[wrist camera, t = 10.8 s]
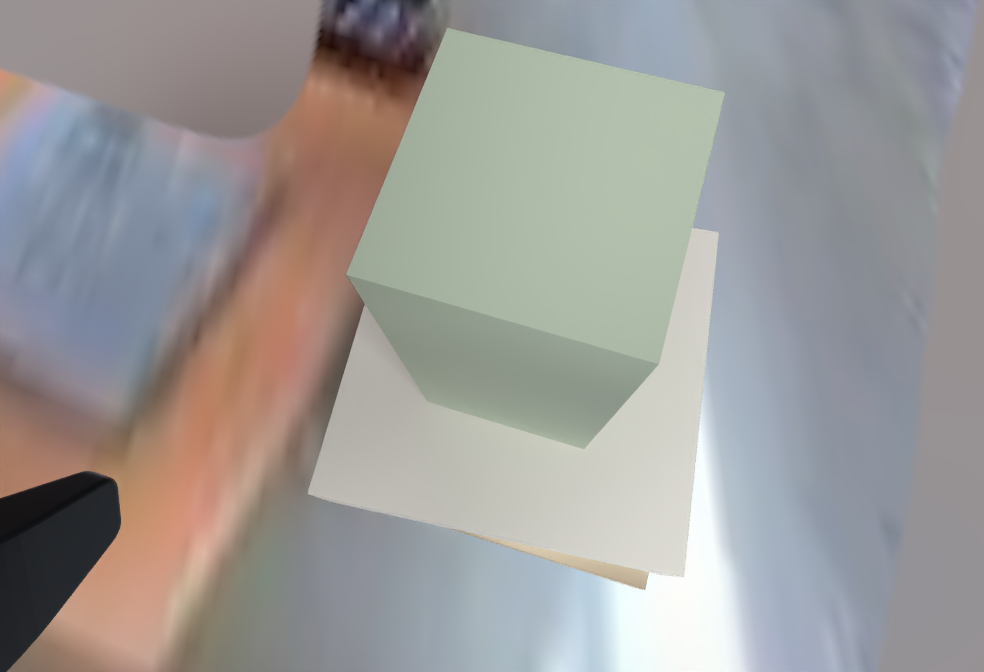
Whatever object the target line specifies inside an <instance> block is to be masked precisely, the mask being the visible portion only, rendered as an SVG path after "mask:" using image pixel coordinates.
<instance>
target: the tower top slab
mask: <svg viewBox="0 0 984 672" xmlns="http://www.w3.org/2000/svg"><path fill="white" fill-rule="evenodd" d="M718 236H719V232H714V231H708V230H702V229H696V228H692V231H691V235H690V239H689V243H688V247H687V251H686V255H685V259H684V264H683V268H682V272H681V276H680V280H679V284H678V288H677V292H676V297H675V301H674V305H673V309H672V313H671V317H670V321H669V325H668V329H667V334H666V338H665V342H664V346H663V350H662V354H661V358H660V362H659V365H658V366H657V367H656V368H655V369H654V371H653V372H652V373H651V374H650V375H649V376H648V377H647V379H646V380H645V381H644V382H643V383H642V384H641V385H640V386H639V388H638V389H637V390H636V391H635V392H634V393H633V394H632V396H631V397H630V398H629V399H628V400H627V401H626V402H625V404H624V405H623V406H622V407H621V408H620V409H619V410H618V411H617V413H616V414H615V415H614V416H613V417H612V418H611V419H610V421H609V422H608V423H607V424H606V425H605V426H604V427H603V429H602V430H601V431H600V432H599V433H598V434H597V435H596V436H595V438H594V439H593V440H592V441H591V442H590V443H589V444H588V446H587V447H586V448H585V449H581V448H577V447H574V446H571V445H568V444H564V443H561V442H558V441H554V440H551V439H548V438H545V437H541V436H538V435H535V434H532V433H528V432H525V431H522V430H519V429H515V428H512V427H509V426H506V425H502V424H499V423H496V422H493V421H489V420H486V419H483V418H480V417H476V416H473V415H470V414H467V413H463V412H460V411H457V410H454V409H450V408H447V407H444V406H441V405H437V404H434V403H431V402H428V401H427V400H426V398H425V397H424V395H423V394H422V392H421V391H420V389H419V388H418V386H417V384H416V383H415V381H414V380H413V378H412V377H411V375H410V373H409V372H408V370H407V369H406V367H405V366H404V364H403V363H402V361H401V359H400V358H399V356H398V355H397V353H396V352H395V350H394V349H393V347H392V345H391V344H390V342H389V341H388V339H387V338H386V336H385V335H384V333H383V331H382V330H381V328H380V327H379V325H378V324H377V322H376V321H375V319H374V317H373V316H372V314H371V313H370V311H369V310H368V308H367V306H366V305H364V308H363V311H362V315H361V318H360V321H359V325H358V328H357V331H356V335H355V338H354V341H353V345H352V348H351V351H350V354H349V358H348V361H347V364H346V368H345V371H344V374H343V378H342V381H341V384H340V388H339V391H338V394H337V398H336V401H335V404H334V407H333V411H332V414H331V417H330V421H329V424H328V427H327V431H326V434H325V437H324V441H323V444H322V447H321V450H320V454H319V457H318V460H317V464H316V467H315V470H314V474H313V477H312V480H311V484H310V487H309V490H308V494H309V495H312V496H315V497H318V498H321V499H324V500H327V501H330V502H334V503H338V504H343V505H347V506H352V507H356V508H361V509H366V510H370V511H375V512H379V513H384V514H388V515H393V516H397V517H402V518H406V519H411V520H415V521H420V522H424V523H429V524H433V525H438V526H442V527H447V528H451V529H456V530H461V531H465V532H470V533H474V534H479V535H483V536H488V537H492V538H497V539H501V540H506V541H510V542H515V543H519V544H524V545H528V546H533V547H537V548H542V549H546V550H551V551H555V552H560V553H565V554H569V555H574V556H578V557H583V558H587V559H592V560H596V561H601V562H605V563H610V564H614V565H619V566H623V567H628V568H632V569H637V570H641V571H646V572H650V573H655V574H660V575H667V576H679V577H684V570H685V560H686V551H687V541H688V531H689V521H690V511H691V501H692V492H693V482H694V472H695V462H696V452H697V442H698V432H699V423H700V413H701V403H702V393H703V383H704V373H705V364H706V354H707V344H708V334H709V324H710V314H711V304H712V295H713V285H714V275H715V265H716V255H717V245H718Z"/></svg>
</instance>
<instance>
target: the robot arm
mask: <svg viewBox="0 0 984 672" xmlns="http://www.w3.org/2000/svg"><path fill="white" fill-rule="evenodd" d="M120 525H121V514H120V504H119V494H118V486H117V483H116V482H115V480H114V479H112V478H110V477H107V476H104V475H101V474H98V473H95V472H91V471H84V472H80V473H77V474H74V475H70V476H67V477H64V478H61V479H58V480H55V481H52V482H49V483H46V484H43V485H40V486H37V487H34V488H31V489H28V490H24V491H21V492H18V493H15V494H12V495H9V496H6V497H3V498H0V672H7V671H8V670H9V669H10V668H11V666H12V665H13V664H14V663H15V662H16V661H17V660H18V659H19V658H20V657H21V656H22V655H23V653H24V652H25V651H26V650H27V649H28V648H29V647H30V646H31V644H32V643H33V642H34V641H35V640H36V639H37V638H38V637H39V635H40V634H41V633H42V632H43V630H44V629H45V628H46V627H47V626H48V624H49V623H50V622H51V621H52V619H53V618H54V617H55V616H56V614H57V613H58V612H59V610H60V609H61V608H62V607H63V605H64V604H65V603H66V601H67V600H68V599H69V598H70V596H71V595H72V594H73V592H74V591H75V590H76V588H77V587H78V586H79V585H80V583H81V582H82V581H83V579H84V578H85V577H86V576H87V574H88V573H89V572H90V570H91V569H92V568H93V566H94V565H95V564H96V563H97V561H98V560H99V559H100V557H101V556H102V555H103V554H104V552H105V551H106V550H107V548H108V547H109V546H110V544H111V543H112V542H113V540H114V539H115V537H116V536H117V534H118V532H119V529H120Z"/></svg>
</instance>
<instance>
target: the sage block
mask: <svg viewBox="0 0 984 672" xmlns="http://www.w3.org/2000/svg"><path fill="white" fill-rule="evenodd" d="M724 95H725V92H721V91H717V90H713V89H708V88H704V87H700V86H695V85H691V84H687V83H682V82H678V81H674V80H670V79H665V78H661V77H657V76H652V75H648V74H644V73H639V72H635V71H631V70H626V69H622V68H618V67H614V66H609V65H605V64H601V63H596V62H592V61H588V60H583V59H579V58H575V57H570V56H566V55H562V54H558V53H553V52H549V51H545V50H540V49H536V48H532V47H527V46H523V45H519V44H515V43H510V42H506V41H502V40H497V39H493V38H489V37H484V36H480V35H476V34H471V33H467V32H463V31H459V30H454V29H450V28H447V30H446V33H445V35H444V37H443V40H442V42H441V45H440V47H439V50H438V52H437V54H436V57H435V59H434V62H433V64H432V67H431V69H430V71H429V74H428V76H427V79H426V81H425V84H424V86H423V88H422V91H421V93H420V96H419V98H418V101H417V103H416V105H415V108H414V110H413V113H412V115H411V118H410V120H409V122H408V125H407V127H406V130H405V132H404V135H403V137H402V139H401V142H400V144H399V147H398V149H397V152H396V154H395V156H394V159H393V161H392V164H391V166H390V169H389V171H388V174H387V176H386V178H385V181H384V183H383V186H382V188H381V191H380V193H379V195H378V198H377V200H376V203H375V205H374V208H373V210H372V212H371V215H370V217H369V220H368V222H367V225H366V227H365V229H364V232H363V234H362V237H361V239H360V242H359V244H358V246H357V249H356V251H355V254H354V256H353V259H352V261H351V263H350V266H349V268H348V271H347V273H346V275H347V277H348V278H349V280H350V282H351V283H352V285H353V286H354V288H355V289H356V291H357V292H358V294H359V296H360V297H361V299H362V300H363V302H364V303H365V305H366V306H367V308H368V310H369V311H370V313H371V314H372V316H373V317H374V319H375V321H376V322H377V324H378V325H379V327H380V328H381V330H382V331H383V333H384V335H385V336H386V338H387V339H388V341H389V342H390V344H391V345H392V347H393V349H394V350H395V352H396V353H397V355H398V356H399V358H400V359H401V361H402V363H403V364H404V366H405V367H406V369H407V370H408V372H409V373H410V375H411V377H412V378H413V380H414V381H415V383H416V384H417V386H418V388H419V389H420V391H421V392H422V394H423V395H424V397H425V398H426V400H427V401H428V402H431V403H434V404H437V405H441V406H444V407H447V408H450V409H454V410H457V411H460V412H463V413H467V414H470V415H473V416H476V417H480V418H483V419H486V420H489V421H493V422H496V423H499V424H502V425H506V426H509V427H512V428H515V429H519V430H522V431H525V432H528V433H532V434H535V435H538V436H541V437H545V438H548V439H551V440H554V441H558V442H561V443H564V444H568V445H571V446H574V447H577V448H581V449H585V448H586V447H587V446H588V444H589V443H590V442H591V441H592V440H593V439H594V438H595V436H596V435H597V434H598V433H599V432H600V431H601V430H602V429H603V427H604V426H605V425H606V424H607V423H608V422H609V421H610V419H611V418H612V417H613V416H614V415H615V414H616V413H617V411H618V410H619V409H620V408H621V407H622V406H623V405H624V404H625V402H626V401H627V400H628V399H629V398H630V397H631V396H632V394H633V393H634V392H635V391H636V390H637V389H638V388H639V386H640V385H641V384H642V383H643V382H644V381H645V380H646V379H647V377H648V376H649V375H650V374H651V373H652V372H653V371H654V369H655V368H656V367H657V366H658V365H659V362H660V358H661V354H662V350H663V346H664V342H665V338H666V334H667V329H668V325H669V321H670V317H671V313H672V309H673V305H674V301H675V297H676V292H677V288H678V284H679V280H680V276H681V272H682V268H683V264H684V259H685V255H686V251H687V247H688V243H689V239H690V235H691V231H692V227H693V222H694V218H695V214H696V210H697V206H698V202H699V198H700V194H701V190H702V185H703V181H704V177H705V173H706V169H707V165H708V161H709V157H710V153H711V148H712V144H713V140H714V136H715V132H716V128H717V124H718V120H719V116H720V111H721V107H722V103H723V99H724Z"/></svg>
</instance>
